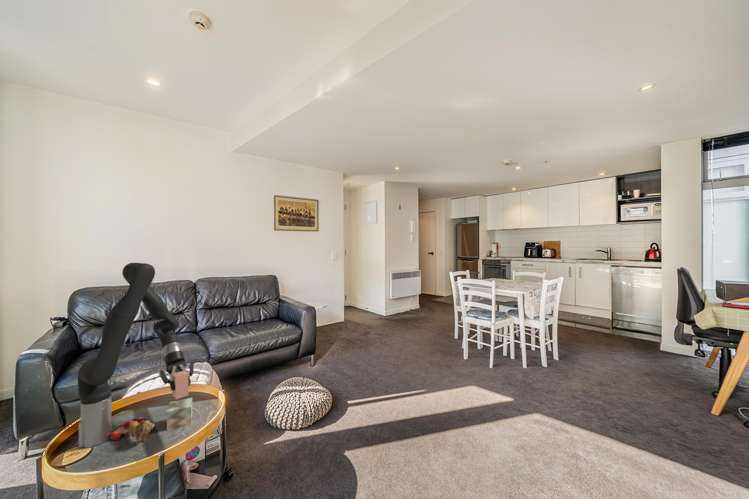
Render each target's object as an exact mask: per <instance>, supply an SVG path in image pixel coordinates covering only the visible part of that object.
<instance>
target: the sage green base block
mask: <svg viewBox="0 0 749 499" xmlns="http://www.w3.org/2000/svg"><path fill="white" fill-rule="evenodd" d="M192 421H193V397H188V398H183V399H180V400H175V401H170V402H169V403H168V406H167V411H166V430H167V431H169V430H174V429H178V428H181V427H186V426H190V425H192Z"/></svg>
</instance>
